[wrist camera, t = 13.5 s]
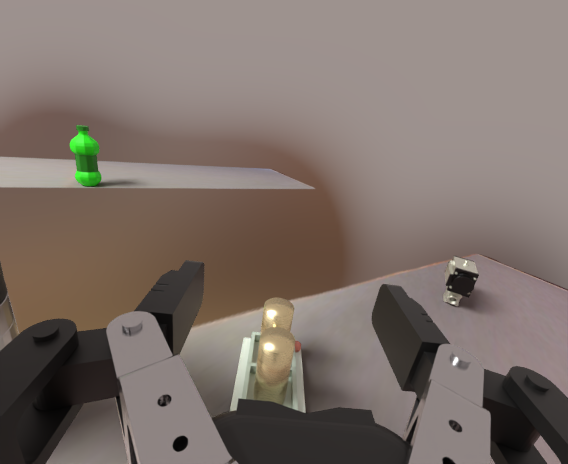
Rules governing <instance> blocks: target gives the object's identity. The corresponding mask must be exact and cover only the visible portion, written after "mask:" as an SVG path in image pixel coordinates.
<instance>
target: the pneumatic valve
mask: <svg viewBox="0 0 568 464" xmlns="http://www.w3.org/2000/svg"><path fill="white" fill-rule="evenodd" d="M478 276H479V274H478V271H477V268H476V265H475V262H474V261H471V260H468V259H464V258H461V257H457V256H454V257H453V259H452V260H450V262H448V265H447V267H446V270H445V282H446V286H447V287H446V291H445V294H443V301H444V302H445V303H447V302H448V303H450V304H453V305H455V306H458V305H459V301H460V298H462V295H463V296H466V297H469V296H470V294H471V291H472V290H473V289H474V285H475V282H476V280H477V278H478Z"/></svg>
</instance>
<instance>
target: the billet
mask: <svg viewBox="0 0 568 464" xmlns="http://www.w3.org/2000/svg"><path fill="white" fill-rule="evenodd" d="M294 347H295V338H294V336H293V334H292V333H291V332H290V331H288V330H286V329H284V328H281V327H271V328H268V329H266V330H264V331H263V332H262V333H261V335H260V341H259V349H258V358H257V366H256V375H255V384H254V392H253V397H254V400H262V401H272V402H275V403H278V404H281V405H283V403H284V401H285V397H286V391H287V386H288V380H289V375H290V369H291V363H292V358H293V352H294Z"/></svg>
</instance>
